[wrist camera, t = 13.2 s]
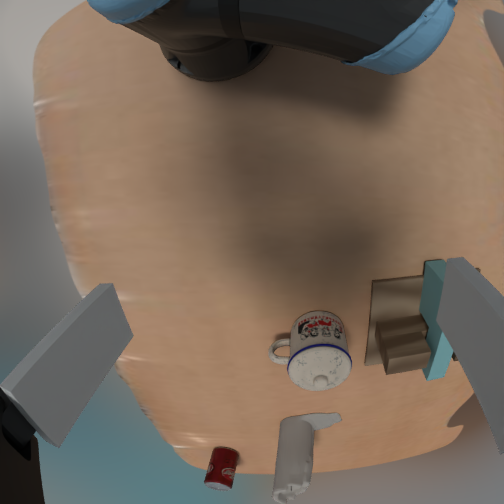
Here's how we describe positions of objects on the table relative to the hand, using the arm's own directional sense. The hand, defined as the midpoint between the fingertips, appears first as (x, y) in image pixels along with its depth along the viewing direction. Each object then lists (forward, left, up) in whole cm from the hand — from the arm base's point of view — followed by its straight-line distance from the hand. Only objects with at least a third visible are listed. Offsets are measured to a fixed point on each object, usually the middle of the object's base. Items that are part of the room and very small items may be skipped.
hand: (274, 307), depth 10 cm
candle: (+51, +1, -29) cm, 59 cm away
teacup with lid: (+24, +1, -29) cm, 38 cm away
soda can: (+68, -22, -29) cm, 77 cm away
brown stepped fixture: (+24, +21, -29) cm, 43 cm away
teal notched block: (+21, +21, -28) cm, 41 cm away
